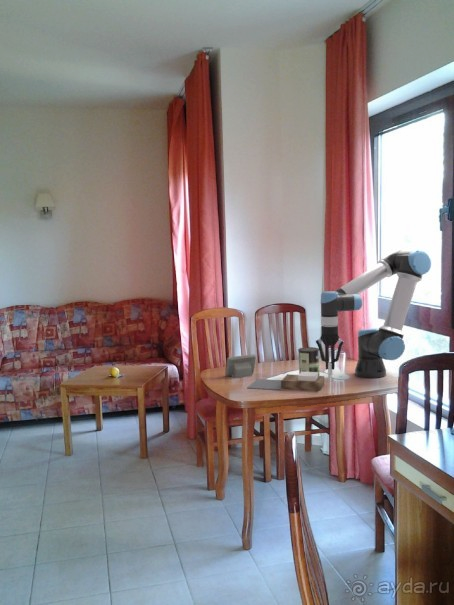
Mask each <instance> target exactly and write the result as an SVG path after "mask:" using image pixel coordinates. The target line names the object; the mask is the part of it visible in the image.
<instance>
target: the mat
mask: <svg viewBox="0 0 454 605" xmlns="http://www.w3.org/2000/svg"><path fill="white" fill-rule="evenodd" d="M281 380H282V379H269V378H268V379H266V378H265V379H264V378H263V379H262V378H257V379H255V380H254V381H252V383H251V384H249V385H248V386H247V388H246V389H254V390H256V389H257V390H267V389H268V390H269V391H270V390H271V391H272V390H273V391H281V390H282V389H281Z"/></svg>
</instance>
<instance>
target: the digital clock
mask: <svg viewBox="0 0 454 605" xmlns="http://www.w3.org/2000/svg"><path fill="white" fill-rule="evenodd" d="M256 356H257V355H256V354H253V353H252V354H246V355H236V356H235V355H234V356H228V357H227V358H226V364H225V376H226V377H231V376H232V377H234V378H236V379H238V378H245V377H246V376H247V377H252V376H253V373H254V372H255V368H256V358H257V357H256Z"/></svg>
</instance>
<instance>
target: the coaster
mask: <svg viewBox="0 0 454 605" xmlns="http://www.w3.org/2000/svg"><path fill="white" fill-rule="evenodd" d="M297 375H298V380H301V381H316V379H317V378H318V372H301V373H300V374H299V373H298V374H297Z"/></svg>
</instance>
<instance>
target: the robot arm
mask: <svg viewBox="0 0 454 605" xmlns="http://www.w3.org/2000/svg"><path fill="white" fill-rule="evenodd" d="M431 268H432V259H431V257H430V254H429V252H427V251H426V250H424V249H419V248H413V249H412V248H410V249H409V248H408V249H407V248H403V249H402V248H401V249H396V250H394V251H393V252H391V253H389V254H387V255H386V256H384V257H383V258H381V259H380V260H378V262H377V264H375V265H374V266H372V267H370V268H369V269H368V270H366V271H365V272H363V273H361V274H360V275H358V276H357V277H355V278H353V279H352V280H350V281H349V282H347V283H346V284H344V285H343V286H340V287H339V288H337V289H336V290H334V291H331V290H329V291H327V290H326V291H322V292H321V294H320V315H321V316H320V320H321V321H320V323H321V327H320V328H321V329H320V330H321V331H320V333H321V335H320V337H319V339H317V340H315V344H316V345H317V348H318V349H319V355H320V356H319V357H320V359H321V361H322V362H325V369H326V370H327V374H328V375H327V377H328V378H332V377H333V371H334V370H335V365H336V364H335V363H337V362H338V361H339V360H340V356H341V351H342V347H343V344H344V343H345V341H344V340H342V339H341V338H340V335H339V326H338V325H339V313H340V312H355V311H359V310H361V309H362V306H363V299H362V296H361V295H360V294H361V293H363V292H365V291H366V290H367V289H369V288H371V287H372V286H374V285H376V284H377V283H378V282H381V281H382V280H384V279H385V278H391V277H392V276H394V275H397V277H398V279H397V282H396V285H395V288H394V292H393V294H392V298H391V301H390V305H389V307H388V310H387V313H386V317H385V319H384V323H383V325H381V326H380V327H379V328H378V327H376V328H365V329H359V330H358V332H357V352H358V354H357V355H358V356H357V357H358V359H357V361H356V365H355V368H354V374H356V375H355V376H357V377H362V378H368V379H369V378H370V379H371V378H373V379H374V378H382V377H385V376H386V375H387V369H386V366H385V364H384V361H383V360H385V361H386V360H387V361H395V360H397V359H400V358H401V357H402V355H403V354H404V352H405V349H406V343H405V341H404V340H403V339H404V333H403V328H404V325H405V321H406V318H407V314H408V312H409V309H410V305H411V302H412V299H413V296H414V293H415V290H416V286H417V284H418V283H419V282H421V281H422V279H423V276H424V275H425V274H427V273H429V271H430V270H431ZM322 343H323V344H324V347H325V348H324V349H325V353H324V349H323V345H322ZM337 343H338V346H337V351H336V355H335V350H336V349H335V347H336V346H335V345H336V344H337ZM330 358H331V360H330Z"/></svg>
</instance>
